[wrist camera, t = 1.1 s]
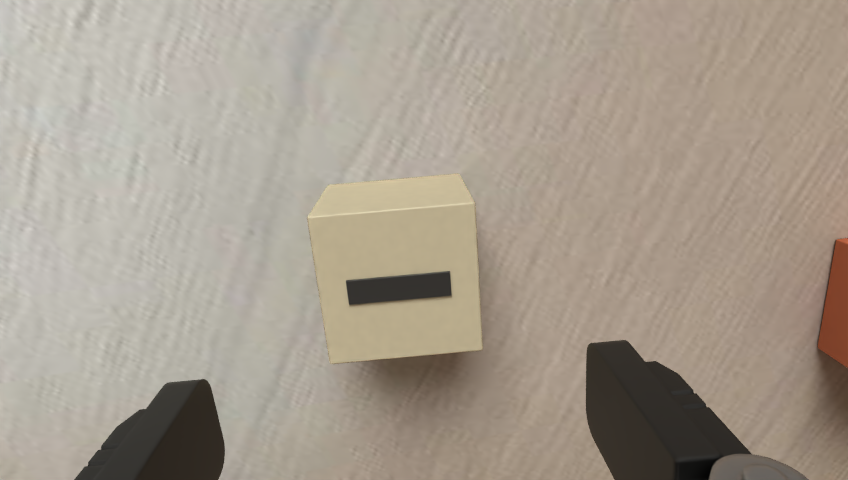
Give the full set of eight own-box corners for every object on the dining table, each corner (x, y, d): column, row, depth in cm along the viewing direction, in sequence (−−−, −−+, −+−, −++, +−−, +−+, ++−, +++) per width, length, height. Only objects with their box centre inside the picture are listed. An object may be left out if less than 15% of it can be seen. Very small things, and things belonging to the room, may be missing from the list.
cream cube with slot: (327, 184, 20) (306, 217, 15) (459, 173, 20) (476, 202, 15) (344, 305, 21) (329, 366, 17) (466, 294, 21) (483, 352, 17)
